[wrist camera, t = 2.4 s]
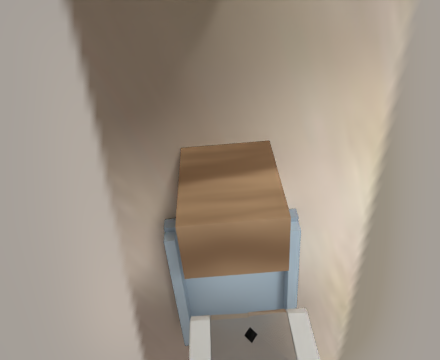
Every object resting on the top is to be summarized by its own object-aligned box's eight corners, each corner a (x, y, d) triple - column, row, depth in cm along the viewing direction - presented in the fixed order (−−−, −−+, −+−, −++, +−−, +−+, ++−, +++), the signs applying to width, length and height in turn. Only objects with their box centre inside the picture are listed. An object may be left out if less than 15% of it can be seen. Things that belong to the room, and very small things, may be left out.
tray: (164, 219, 31) (162, 237, 30) (295, 208, 31) (301, 226, 30) (185, 326, 39) (185, 345, 37) (290, 318, 39) (294, 337, 37)
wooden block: (181, 148, 28) (175, 226, 21) (269, 140, 28) (291, 217, 21) (187, 195, 30) (184, 279, 24) (269, 188, 30) (289, 270, 24)
